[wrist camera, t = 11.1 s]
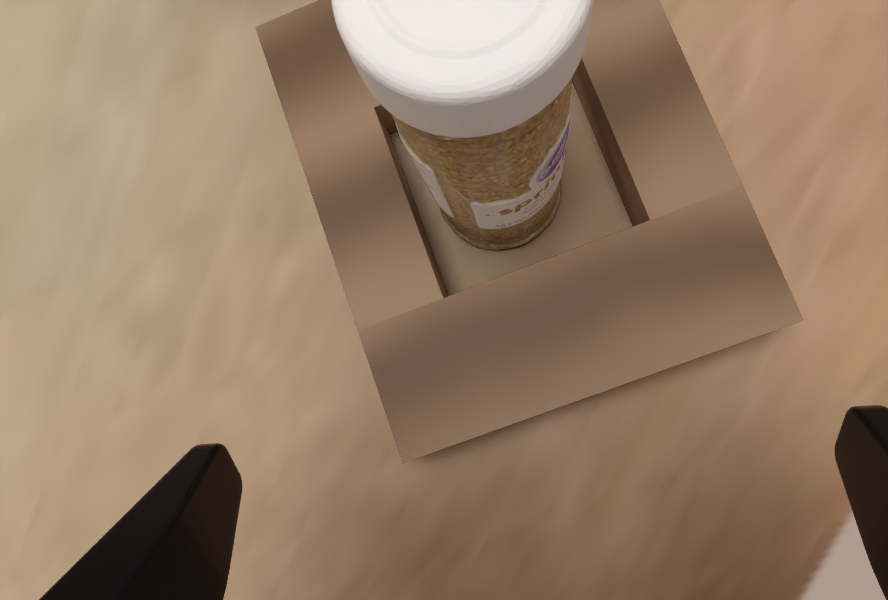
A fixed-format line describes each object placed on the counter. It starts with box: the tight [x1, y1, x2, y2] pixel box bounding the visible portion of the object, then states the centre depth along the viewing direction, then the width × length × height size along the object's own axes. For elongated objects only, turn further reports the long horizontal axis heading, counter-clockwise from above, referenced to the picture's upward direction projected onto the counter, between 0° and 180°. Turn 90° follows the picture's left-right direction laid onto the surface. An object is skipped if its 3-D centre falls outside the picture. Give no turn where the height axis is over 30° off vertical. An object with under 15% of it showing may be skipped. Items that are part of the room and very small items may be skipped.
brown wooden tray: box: [255, 0, 803, 463], centre depth 23 cm, size 16×13×2 cm
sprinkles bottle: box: [331, 0, 594, 250], centre depth 17 cm, size 5×5×14 cm
